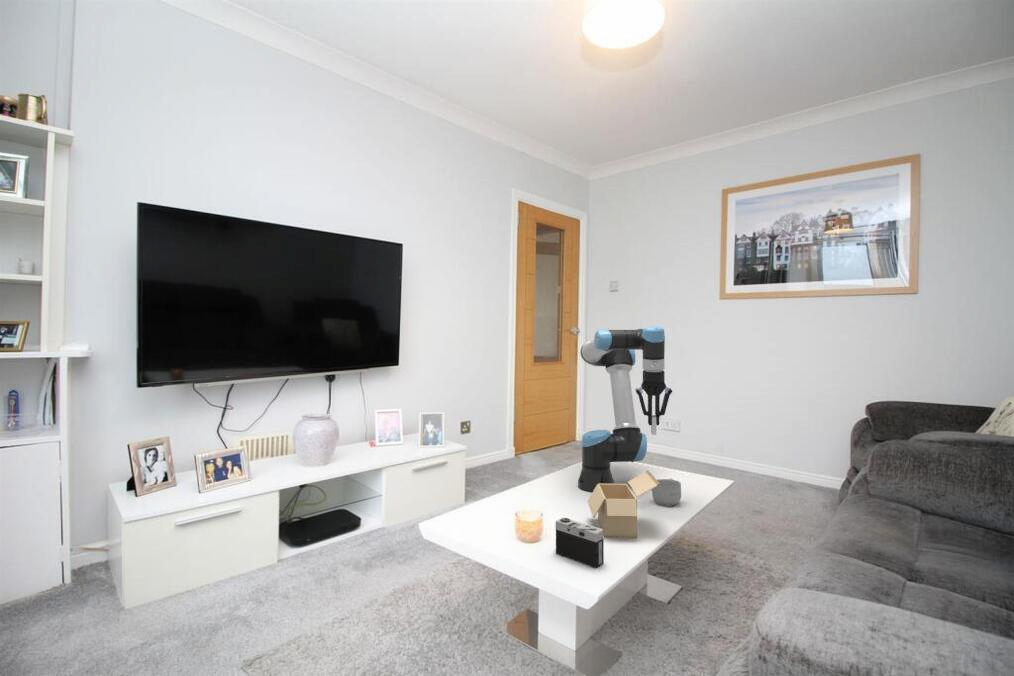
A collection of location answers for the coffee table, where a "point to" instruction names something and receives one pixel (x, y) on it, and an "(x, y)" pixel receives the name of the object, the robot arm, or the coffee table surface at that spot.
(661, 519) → the coffee table surface
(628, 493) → the carton
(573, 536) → the camera
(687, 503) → the coffee table surface
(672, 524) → the coffee table surface
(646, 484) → the flap
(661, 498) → the teacup
